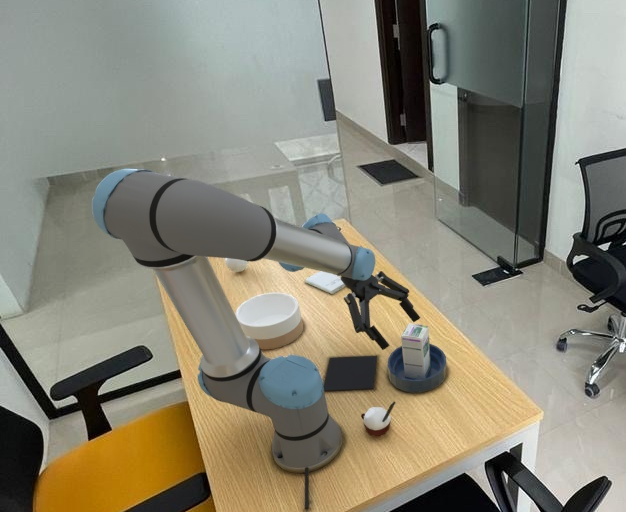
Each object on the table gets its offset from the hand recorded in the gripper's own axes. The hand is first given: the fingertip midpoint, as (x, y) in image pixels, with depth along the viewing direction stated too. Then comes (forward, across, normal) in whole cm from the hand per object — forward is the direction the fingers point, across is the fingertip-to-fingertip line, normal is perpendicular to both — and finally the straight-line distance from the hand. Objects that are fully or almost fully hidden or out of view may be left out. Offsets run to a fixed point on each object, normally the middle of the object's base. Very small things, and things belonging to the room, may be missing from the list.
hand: (402, 333), depth 130 cm
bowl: (-22, -7, +39) cm, 45 cm away
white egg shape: (-50, +11, +62) cm, 81 cm away
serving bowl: (+12, 0, +5) cm, 13 cm away
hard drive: (-25, +21, +42) cm, 54 cm away
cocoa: (+14, -22, +2) cm, 26 cm away
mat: (+1, -10, +16) cm, 19 cm away
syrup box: (+11, 0, +5) cm, 12 cm away
